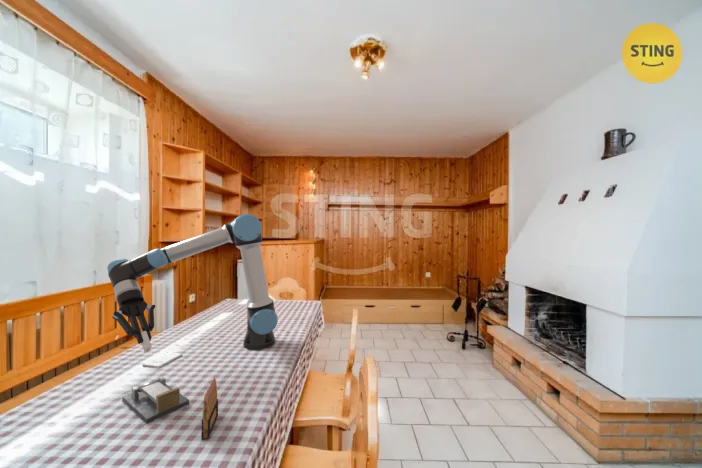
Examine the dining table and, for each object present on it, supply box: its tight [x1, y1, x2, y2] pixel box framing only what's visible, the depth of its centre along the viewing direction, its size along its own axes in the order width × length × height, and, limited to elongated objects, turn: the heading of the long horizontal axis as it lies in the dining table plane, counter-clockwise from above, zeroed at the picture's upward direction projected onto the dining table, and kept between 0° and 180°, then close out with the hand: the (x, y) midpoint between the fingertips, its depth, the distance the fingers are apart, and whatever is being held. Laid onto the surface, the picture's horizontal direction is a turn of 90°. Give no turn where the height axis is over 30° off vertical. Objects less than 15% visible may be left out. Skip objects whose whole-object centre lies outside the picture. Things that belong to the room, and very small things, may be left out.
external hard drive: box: [141, 351, 183, 369], centre depth 127 cm, size 2×8×12 cm
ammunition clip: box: [201, 377, 219, 440], centre depth 84 cm, size 11×2×12 cm, turn 12°
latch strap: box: [137, 378, 169, 403], centre depth 95 cm, size 2×6×14 cm
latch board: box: [121, 376, 190, 425], centre depth 95 cm, size 20×12×6 cm, turn 55°
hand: (148, 349), depth 99 cm, fingers closed
